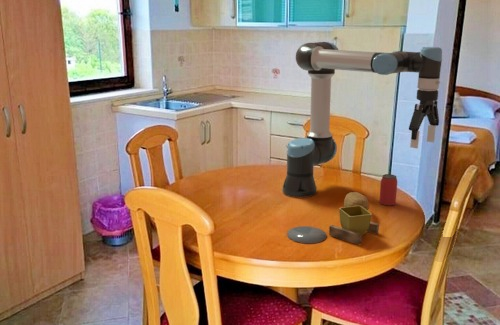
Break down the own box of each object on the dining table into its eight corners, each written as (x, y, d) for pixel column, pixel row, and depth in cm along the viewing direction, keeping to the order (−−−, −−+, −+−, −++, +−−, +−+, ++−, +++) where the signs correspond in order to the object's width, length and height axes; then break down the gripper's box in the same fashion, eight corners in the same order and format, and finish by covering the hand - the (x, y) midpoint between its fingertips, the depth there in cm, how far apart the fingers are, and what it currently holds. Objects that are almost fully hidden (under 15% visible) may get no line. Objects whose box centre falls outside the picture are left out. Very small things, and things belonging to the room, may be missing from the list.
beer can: (396, 206, 203) (398, 178, 200) (379, 205, 204) (381, 177, 201) (394, 201, 209) (397, 174, 206) (378, 200, 211) (380, 173, 207)
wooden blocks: (329, 235, 176) (329, 226, 175) (349, 224, 185) (349, 215, 184) (358, 245, 168) (359, 235, 167) (378, 233, 178) (378, 224, 177)
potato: (362, 206, 203) (363, 188, 201) (373, 219, 190) (374, 200, 187) (338, 207, 202) (339, 189, 200) (348, 220, 189) (349, 201, 187)
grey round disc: (278, 235, 175) (278, 234, 175) (302, 224, 185) (302, 223, 185) (311, 247, 166) (311, 246, 166) (334, 234, 176) (334, 233, 176)
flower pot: (371, 237, 174) (372, 213, 171) (348, 240, 171) (349, 216, 169) (358, 228, 182) (360, 205, 180) (337, 230, 180) (338, 207, 177)
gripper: (421, 93, 174) (416, 152, 179) (451, 87, 191) (445, 140, 197) (402, 91, 179) (397, 148, 184) (433, 85, 196) (427, 138, 202)
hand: (422, 144), depth 191 cm, fingers open, 13 cm apart
